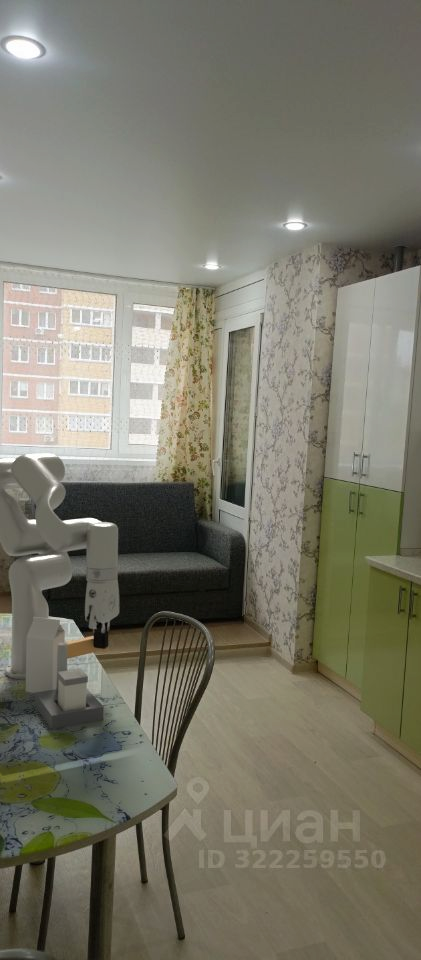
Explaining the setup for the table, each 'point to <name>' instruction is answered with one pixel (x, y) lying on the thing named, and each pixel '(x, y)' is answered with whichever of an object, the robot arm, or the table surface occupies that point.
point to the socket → (57, 718)
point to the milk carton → (43, 654)
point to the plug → (72, 689)
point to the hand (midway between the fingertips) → (100, 647)
